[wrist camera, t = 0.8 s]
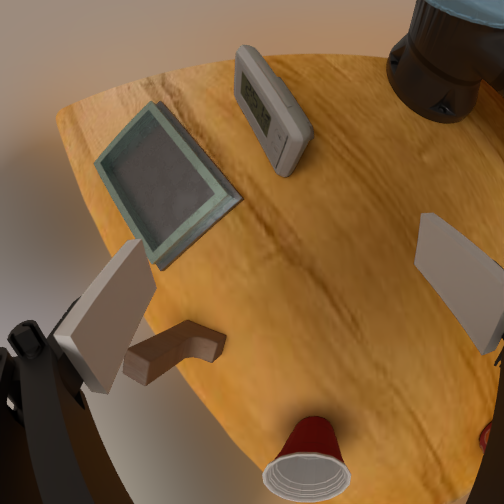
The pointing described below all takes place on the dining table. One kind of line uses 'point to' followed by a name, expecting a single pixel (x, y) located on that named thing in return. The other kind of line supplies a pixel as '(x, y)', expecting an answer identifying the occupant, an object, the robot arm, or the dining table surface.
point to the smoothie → (485, 437)
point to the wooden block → (171, 350)
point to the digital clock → (271, 111)
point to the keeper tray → (164, 184)
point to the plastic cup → (308, 464)
